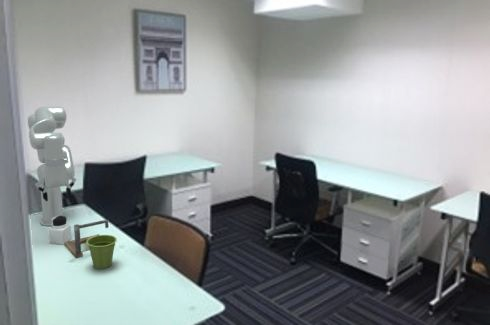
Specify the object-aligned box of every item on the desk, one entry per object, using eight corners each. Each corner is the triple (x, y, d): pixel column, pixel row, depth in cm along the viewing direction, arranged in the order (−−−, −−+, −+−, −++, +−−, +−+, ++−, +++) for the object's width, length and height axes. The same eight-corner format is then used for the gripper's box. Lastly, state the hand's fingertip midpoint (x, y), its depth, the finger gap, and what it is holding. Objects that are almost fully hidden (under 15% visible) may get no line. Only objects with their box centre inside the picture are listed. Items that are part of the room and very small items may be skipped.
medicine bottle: (71, 238, 193) (70, 214, 190) (63, 244, 186) (61, 220, 183) (57, 237, 194) (55, 213, 191) (49, 243, 187) (47, 219, 184)
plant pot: (108, 273, 161) (107, 247, 159) (82, 270, 164) (80, 244, 161) (123, 260, 173) (122, 236, 170) (98, 257, 175) (96, 233, 172)
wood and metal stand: (76, 258, 173) (73, 226, 170) (64, 245, 185) (62, 215, 182) (112, 248, 183) (110, 219, 180) (98, 237, 195) (97, 208, 192)
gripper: (71, 158, 189) (74, 193, 193) (31, 163, 179) (34, 199, 182) (77, 161, 184) (79, 197, 188) (35, 166, 173) (39, 204, 177)
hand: (57, 198), depth 185 cm, fingers open, 9 cm apart
